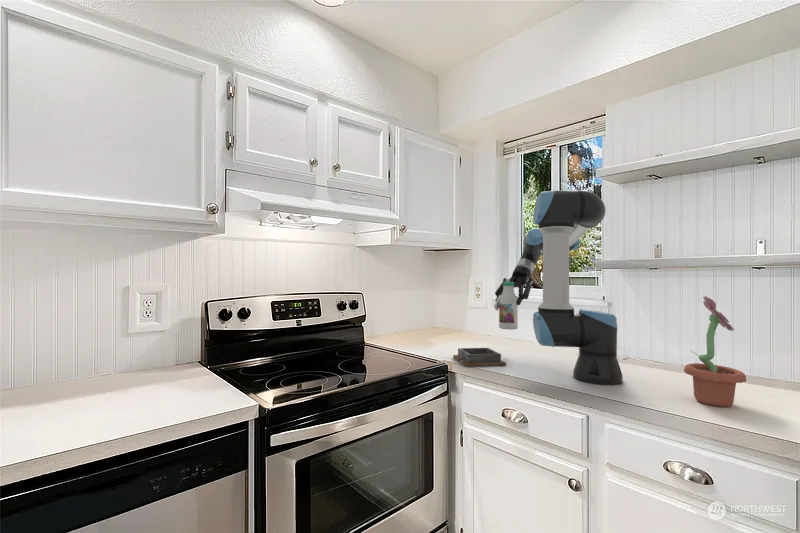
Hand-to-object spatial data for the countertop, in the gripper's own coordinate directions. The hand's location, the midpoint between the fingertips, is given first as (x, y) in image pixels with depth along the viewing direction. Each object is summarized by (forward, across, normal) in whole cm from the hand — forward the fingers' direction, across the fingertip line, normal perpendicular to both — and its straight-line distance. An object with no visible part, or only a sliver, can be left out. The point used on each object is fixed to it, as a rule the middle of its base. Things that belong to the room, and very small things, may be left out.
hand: (504, 309), depth 170 cm
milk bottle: (+4, 0, -9) cm, 9 cm away
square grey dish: (+25, +3, -4) cm, 25 cm away
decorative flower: (+21, -72, -9) cm, 75 cm away
